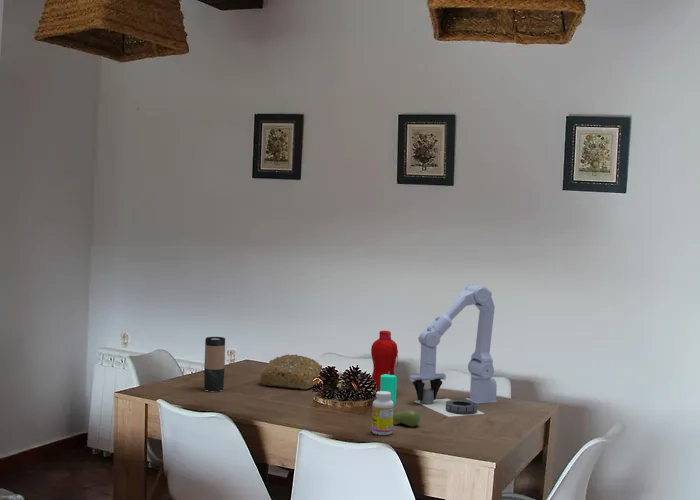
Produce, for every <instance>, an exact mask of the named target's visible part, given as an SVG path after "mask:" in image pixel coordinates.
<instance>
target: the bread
mask: <svg viewBox="0 0 700 500" xmlns="http://www.w3.org/2000/svg"><path fill="white" fill-rule="evenodd" d="M322 369H323V366H322V365H321V364H320V363H319V362H317V361H316V360H315V359H312V358H310V357H308V356H303V355H298V354H289V353H287V354H284V355H281V356H276V358H273V359H271V360H269V362H268V363H267V364H266V365H265V366H263V369H262V371H261V373H260V377H259V380H260V382H261V384H262V385H263V386H266V385H271V386H270V387H276V386H280V387H279V388H288V387H289V389H298V388H299V389H300V390H308V389H310V388H311V389H312V388H314V387H313V380H314V379H315V378H317V377H318V376H319V373H320V371H321V370H322Z"/></svg>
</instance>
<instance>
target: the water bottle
mask: <svg viewBox="0 0 700 500" xmlns="http://www.w3.org/2000/svg"><path fill="white" fill-rule="evenodd" d="M378 334H379V337H378V339H376V340H375V341H373V342H372V345H371V349H370V351H371V352H370V354H371V359H372V364H373V365H372V366H373V367H372V368H373V371H372V375H371V378H373V379H374V380H375V382H376V385H377V392H378V391H380V382H381V375H384V374H387V375H395V376H396V374H395V368H397V367H398V365H399V363H397V365H396V361H397V360H399V355H398V354H399V350H398V345H397V343H396V342H395V340H393V339H392V332H391V331H390V330H379V333H378ZM397 392H398V391H397V390H396V394H397Z"/></svg>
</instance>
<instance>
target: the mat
mask: <svg viewBox="0 0 700 500" xmlns="http://www.w3.org/2000/svg"><path fill="white" fill-rule="evenodd" d="M449 400H452V399H450V398H441V399H439V398H438V399H437V398H436V399H435V400H433V404H431V405H425V404H421V403H420V400H414V402H415V403H417V404H419V405H421V406H423V407H426V408H428V409H430V410H432V411H435V412H436V413H439V414H441V415H444V416H446V417H449V418H450V417H463V416H465V415H462V414H454V413H450V412H447V411H446V402H447V401H449ZM484 414H486V413H484V412H483V411H480V410H478V409H477V413H475V414H469V415H468V416H473V415H484Z"/></svg>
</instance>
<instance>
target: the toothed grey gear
mask: <svg viewBox="0 0 700 500" xmlns="http://www.w3.org/2000/svg"><path fill="white" fill-rule="evenodd" d="M477 410H478V403H475V402H472V401H469V400H466V399H451V400H449V401H447V402H446V411H447V412H450V413H454V414H462V415H464V416H470V415H469V414H475V413H477ZM475 415H476V414H475Z"/></svg>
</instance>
